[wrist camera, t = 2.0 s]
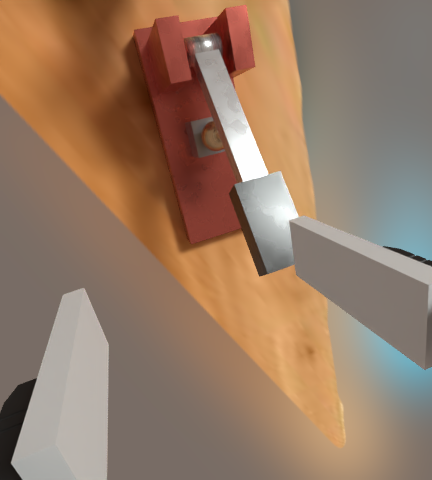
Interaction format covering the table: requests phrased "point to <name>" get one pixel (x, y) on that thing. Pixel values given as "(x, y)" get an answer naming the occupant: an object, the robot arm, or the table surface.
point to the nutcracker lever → (245, 162)
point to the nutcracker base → (194, 115)
